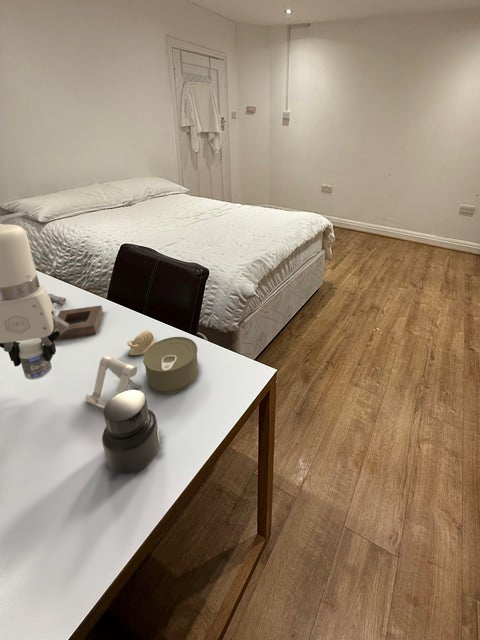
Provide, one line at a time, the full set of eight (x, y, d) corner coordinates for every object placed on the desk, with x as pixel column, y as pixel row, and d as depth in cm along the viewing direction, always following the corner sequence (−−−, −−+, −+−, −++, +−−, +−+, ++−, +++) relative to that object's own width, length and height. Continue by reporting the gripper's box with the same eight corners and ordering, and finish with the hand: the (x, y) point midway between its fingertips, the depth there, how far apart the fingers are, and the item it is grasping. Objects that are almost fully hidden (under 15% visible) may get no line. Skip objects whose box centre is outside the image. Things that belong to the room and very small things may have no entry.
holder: (50, 341, 88) (48, 332, 87) (62, 319, 97) (60, 310, 96) (96, 334, 92) (94, 325, 90) (103, 313, 101) (101, 305, 100)
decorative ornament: (159, 343, 89) (157, 327, 87) (134, 362, 82) (131, 345, 80) (148, 339, 91) (146, 323, 89) (123, 357, 84) (119, 341, 82)
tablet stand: (86, 403, 70) (79, 373, 67) (117, 378, 77) (112, 350, 74) (115, 417, 67) (109, 387, 64) (145, 390, 74) (140, 361, 71)
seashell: (68, 306, 106) (30, 316, 100) (65, 290, 106) (26, 300, 101) (66, 303, 101) (26, 314, 96) (63, 287, 102) (22, 297, 96)
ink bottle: (171, 437, 64) (165, 391, 60) (141, 482, 56) (131, 433, 52) (129, 425, 66) (120, 380, 62) (94, 467, 58) (81, 419, 54)
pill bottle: (34, 383, 69) (25, 351, 66) (20, 376, 70) (10, 345, 67) (57, 368, 73) (49, 338, 70) (42, 362, 74) (34, 332, 71)
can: (201, 356, 85) (200, 335, 83) (195, 392, 74) (193, 369, 72) (154, 359, 83) (151, 338, 81) (140, 397, 72) (136, 373, 70)
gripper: (-54, 302, 57) (-24, 380, 64) (60, 291, 63) (76, 363, 70) (-31, 282, 64) (-6, 355, 70) (70, 273, 70) (84, 341, 76)
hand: (35, 358), depth 70 cm, fingers closed on pill bottle, 4 cm apart
